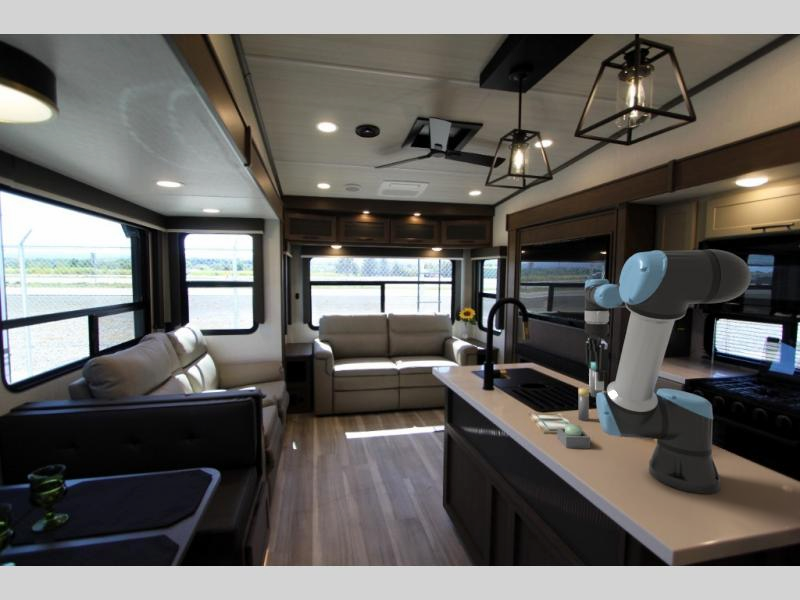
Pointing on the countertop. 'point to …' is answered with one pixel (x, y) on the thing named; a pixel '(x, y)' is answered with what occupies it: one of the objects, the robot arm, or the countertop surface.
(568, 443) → the button housing
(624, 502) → the countertop surface
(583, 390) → the ochre marker
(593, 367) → the teal marker
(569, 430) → the button
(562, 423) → the double window tray
